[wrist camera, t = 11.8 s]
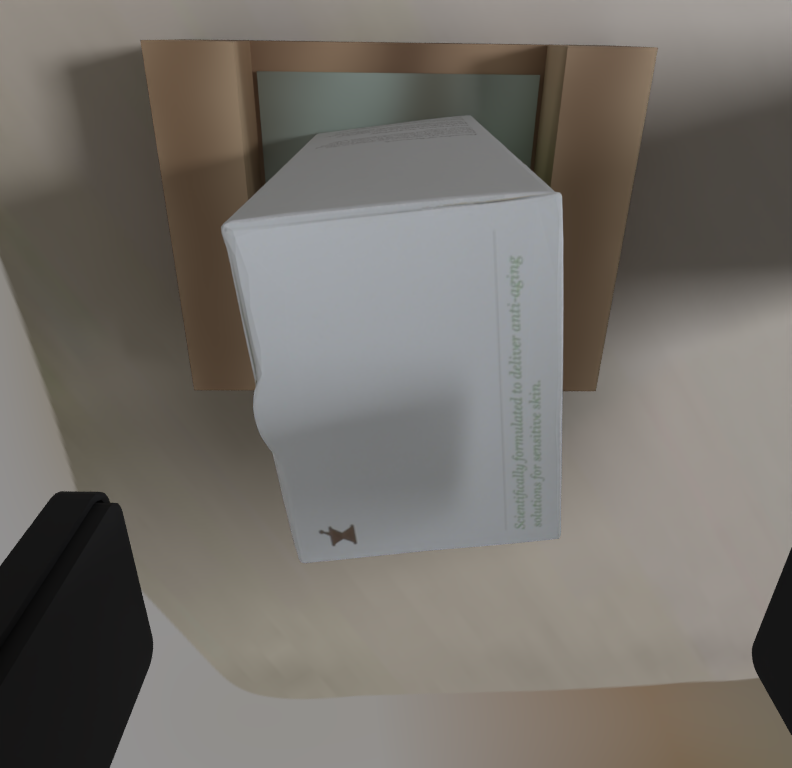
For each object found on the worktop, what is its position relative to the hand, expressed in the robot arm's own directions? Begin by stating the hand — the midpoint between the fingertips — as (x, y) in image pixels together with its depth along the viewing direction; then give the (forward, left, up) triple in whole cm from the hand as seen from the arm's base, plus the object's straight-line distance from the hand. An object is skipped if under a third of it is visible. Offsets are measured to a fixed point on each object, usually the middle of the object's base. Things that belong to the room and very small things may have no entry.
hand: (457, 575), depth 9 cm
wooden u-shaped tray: (0, 0, -22) cm, 22 cm away
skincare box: (0, 0, -20) cm, 20 cm away
